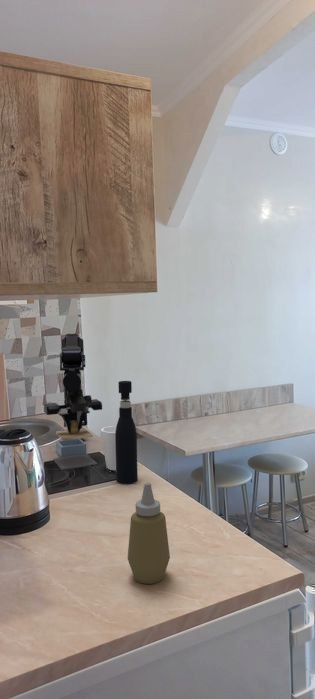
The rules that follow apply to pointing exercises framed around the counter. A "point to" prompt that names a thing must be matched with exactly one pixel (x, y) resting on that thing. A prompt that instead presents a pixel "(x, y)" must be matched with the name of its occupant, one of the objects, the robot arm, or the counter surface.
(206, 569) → the counter surface
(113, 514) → the counter surface
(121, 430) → the black bottle
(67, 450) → the dish
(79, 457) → the mat
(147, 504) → the squeeze bottle
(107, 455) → the foam cup
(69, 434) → the lid
